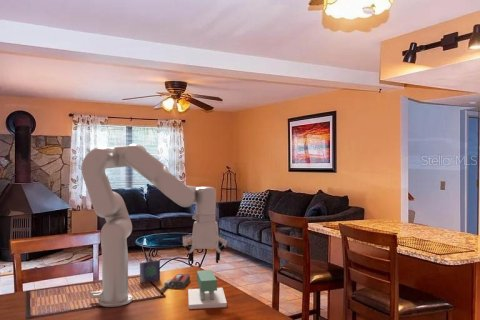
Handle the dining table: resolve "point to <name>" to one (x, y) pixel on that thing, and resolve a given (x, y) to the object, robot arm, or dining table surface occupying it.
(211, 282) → the green boxy piece
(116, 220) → the robot arm
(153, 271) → the flask
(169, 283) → the walkie-talkie
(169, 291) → the dining table surface
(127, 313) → the dining table surface
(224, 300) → the standoff plate
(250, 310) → the dining table surface
